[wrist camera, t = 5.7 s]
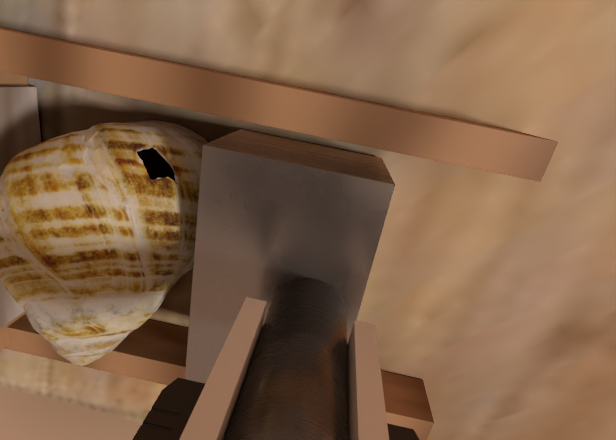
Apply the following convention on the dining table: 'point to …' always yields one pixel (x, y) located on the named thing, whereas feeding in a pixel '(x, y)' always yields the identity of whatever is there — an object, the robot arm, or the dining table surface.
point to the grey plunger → (284, 275)
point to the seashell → (98, 231)
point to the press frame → (246, 107)
